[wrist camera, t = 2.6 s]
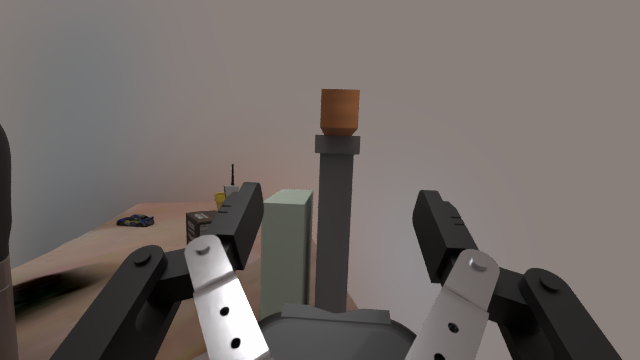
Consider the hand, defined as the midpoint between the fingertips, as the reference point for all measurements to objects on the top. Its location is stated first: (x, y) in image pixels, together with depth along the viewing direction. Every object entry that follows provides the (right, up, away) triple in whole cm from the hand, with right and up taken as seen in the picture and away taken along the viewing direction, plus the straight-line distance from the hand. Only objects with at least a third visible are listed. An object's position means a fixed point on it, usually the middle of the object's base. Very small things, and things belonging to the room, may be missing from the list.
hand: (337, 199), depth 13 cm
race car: (-74, -17, +86) cm, 115 cm away
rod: (+1, +6, +19) cm, 20 cm away
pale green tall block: (-6, -25, +25) cm, 36 cm away
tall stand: (0, -25, +24) cm, 35 cm away
